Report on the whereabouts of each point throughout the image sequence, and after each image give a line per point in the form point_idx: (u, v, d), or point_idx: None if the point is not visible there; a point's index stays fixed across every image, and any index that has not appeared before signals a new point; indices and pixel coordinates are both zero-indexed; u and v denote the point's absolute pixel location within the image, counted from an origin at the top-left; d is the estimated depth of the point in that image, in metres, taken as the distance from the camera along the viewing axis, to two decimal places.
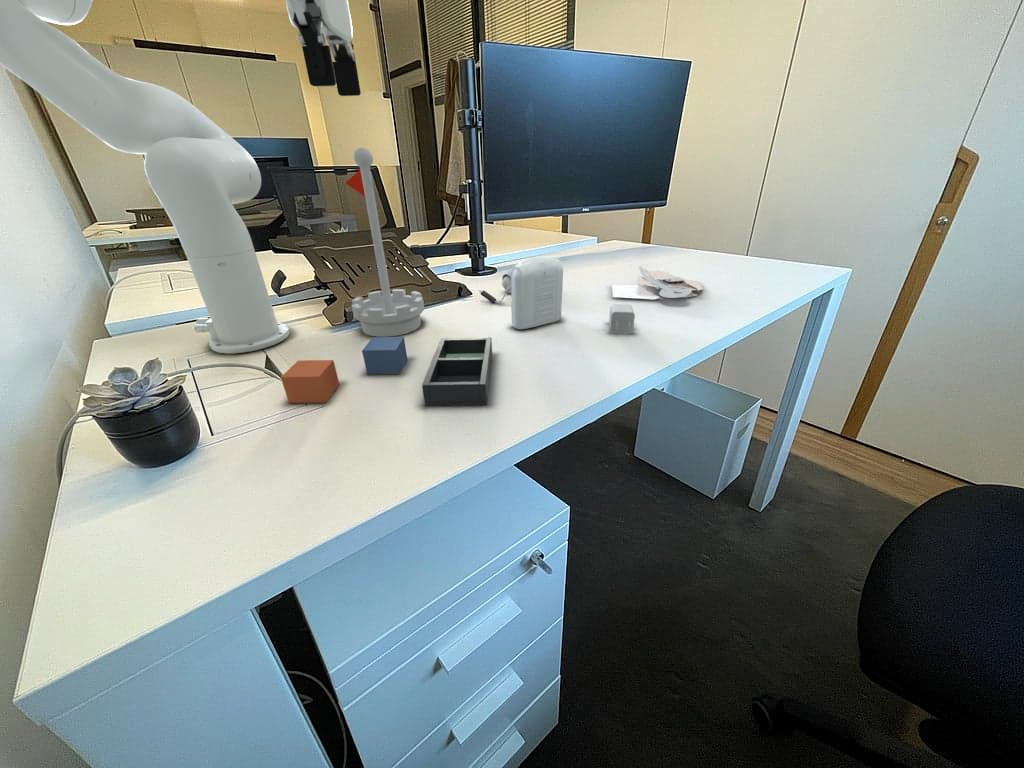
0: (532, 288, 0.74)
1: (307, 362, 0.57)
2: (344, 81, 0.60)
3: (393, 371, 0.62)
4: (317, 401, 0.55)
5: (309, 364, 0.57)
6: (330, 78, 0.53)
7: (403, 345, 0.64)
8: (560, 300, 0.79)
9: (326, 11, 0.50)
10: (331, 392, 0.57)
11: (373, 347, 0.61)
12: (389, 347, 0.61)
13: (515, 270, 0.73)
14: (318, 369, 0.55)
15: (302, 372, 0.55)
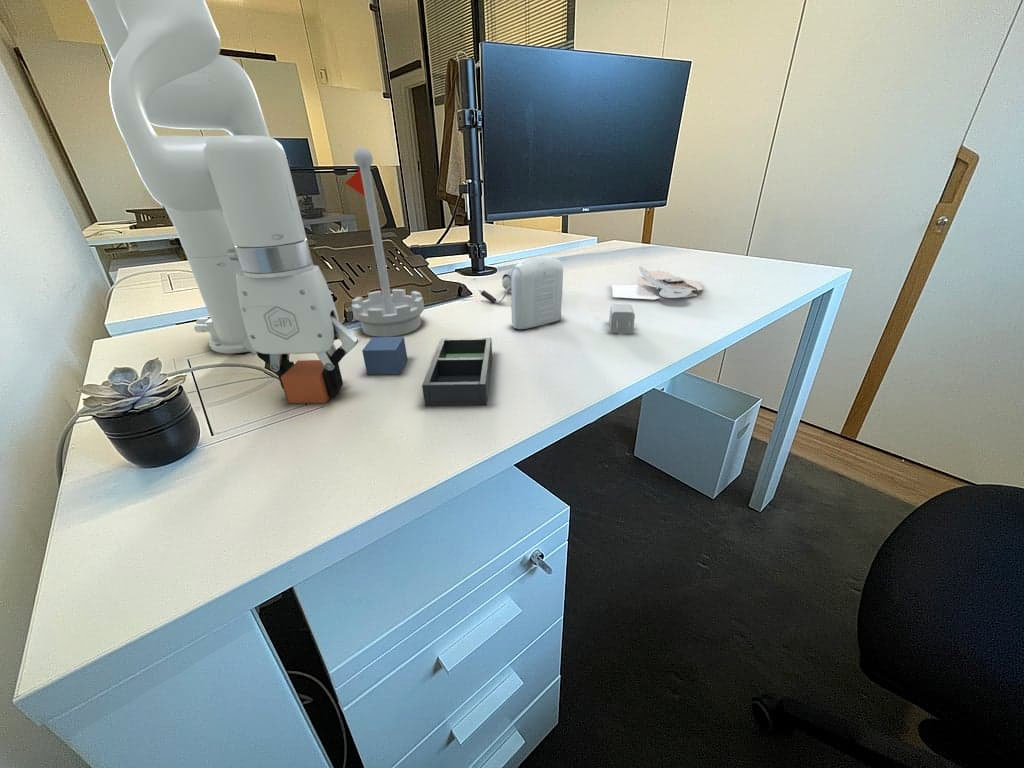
0: (532, 288, 0.74)
1: (307, 362, 0.57)
2: None
3: (393, 371, 0.62)
4: (317, 401, 0.55)
5: (309, 364, 0.57)
6: None
7: (403, 345, 0.64)
8: (560, 300, 0.79)
9: None
10: None
11: (373, 347, 0.61)
12: (389, 347, 0.61)
13: (515, 270, 0.73)
14: (318, 369, 0.55)
15: (302, 372, 0.55)
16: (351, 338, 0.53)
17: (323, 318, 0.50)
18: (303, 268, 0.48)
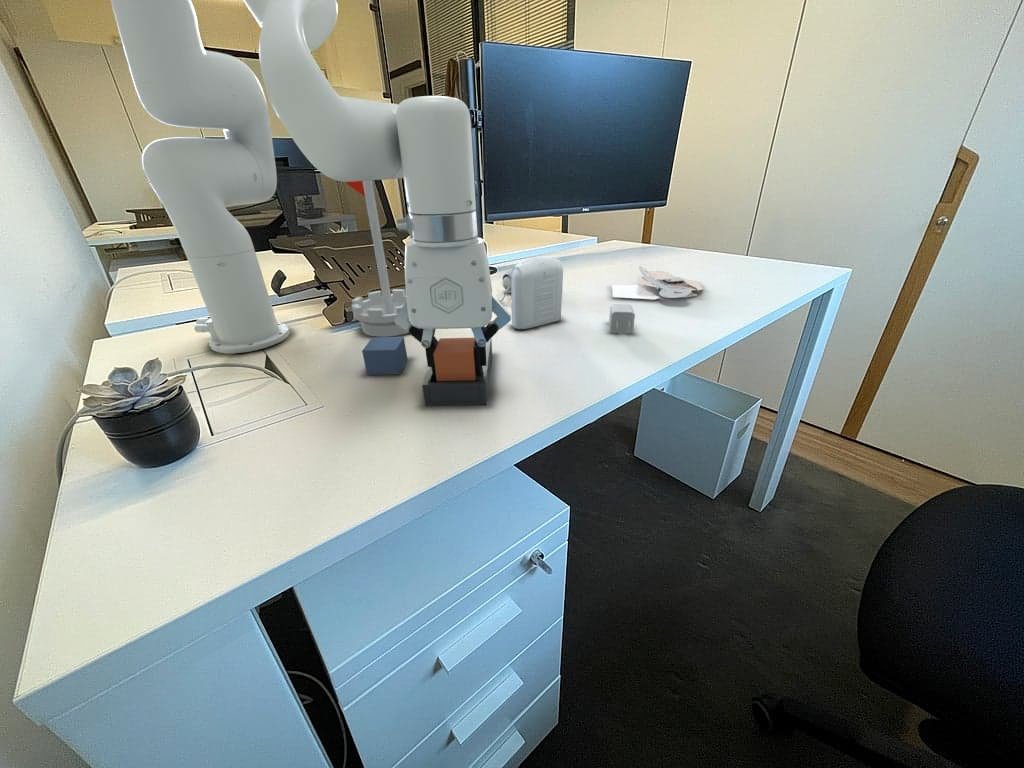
0: (532, 288, 0.74)
1: (451, 340, 0.56)
2: None
3: (393, 371, 0.62)
4: (466, 379, 0.54)
5: (455, 341, 0.55)
6: None
7: (403, 345, 0.64)
8: (560, 300, 0.79)
9: None
10: None
11: (373, 347, 0.61)
12: (389, 347, 0.61)
13: (515, 270, 0.73)
14: (467, 346, 0.54)
15: (452, 348, 0.53)
16: (507, 313, 0.52)
17: (488, 291, 0.49)
18: (474, 238, 0.47)
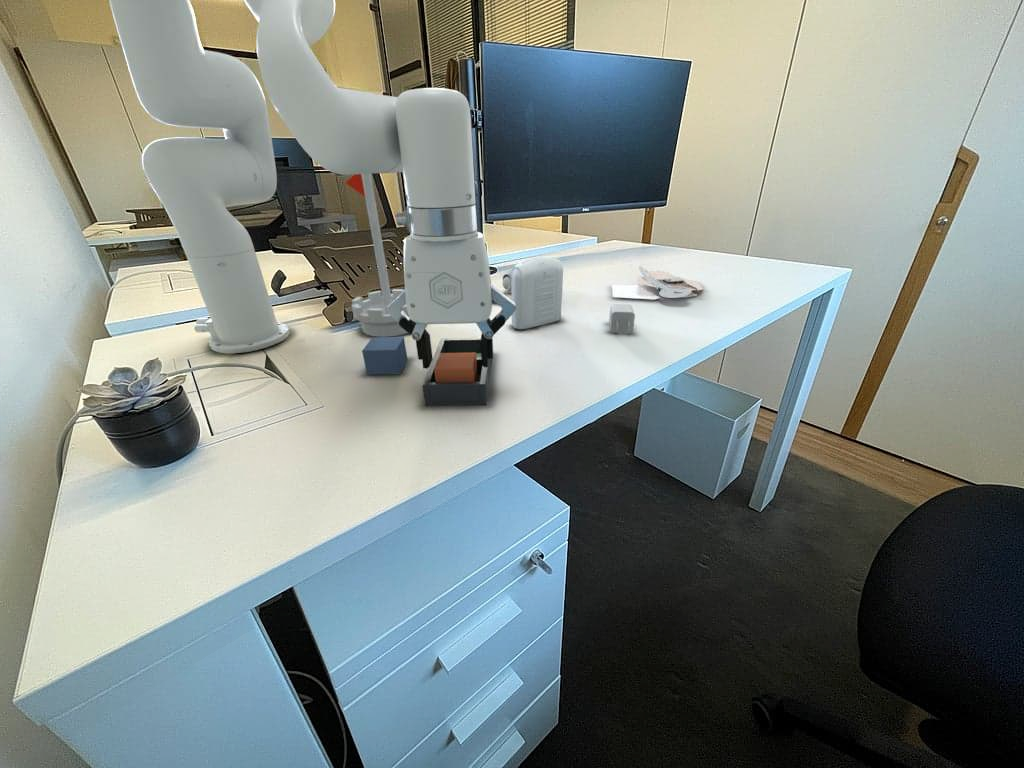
0: (532, 288, 0.74)
1: (451, 355, 0.57)
2: (429, 353, 0.55)
3: (393, 371, 0.62)
4: None
5: (455, 356, 0.56)
6: None
7: (403, 345, 0.64)
8: (560, 300, 0.79)
9: None
10: None
11: (373, 347, 0.61)
12: (389, 347, 0.61)
13: (515, 270, 0.73)
14: (467, 362, 0.55)
15: (453, 364, 0.54)
16: (511, 302, 0.51)
17: (488, 286, 0.48)
18: (474, 233, 0.46)
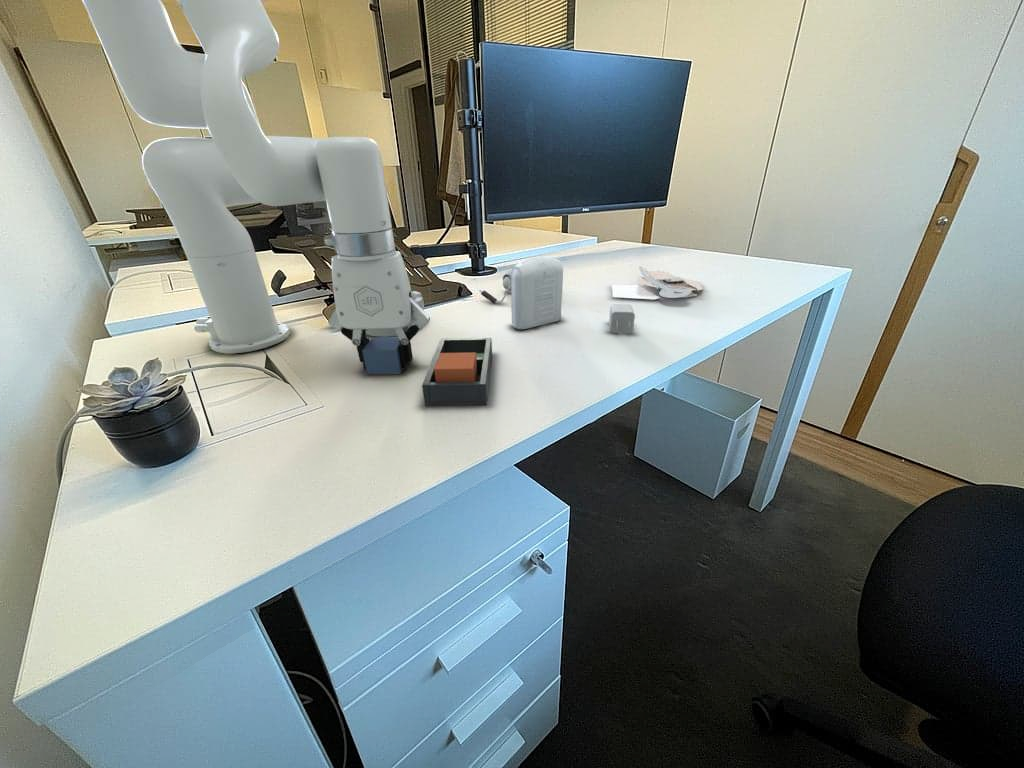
0: (532, 288, 0.74)
1: (451, 355, 0.57)
2: None
3: (393, 371, 0.62)
4: None
5: (455, 356, 0.56)
6: None
7: None
8: (560, 300, 0.79)
9: None
10: None
11: (373, 347, 0.61)
12: (389, 347, 0.61)
13: (515, 270, 0.73)
14: (467, 362, 0.55)
15: (453, 364, 0.54)
16: (425, 316, 0.60)
17: (405, 297, 0.57)
18: (390, 252, 0.55)
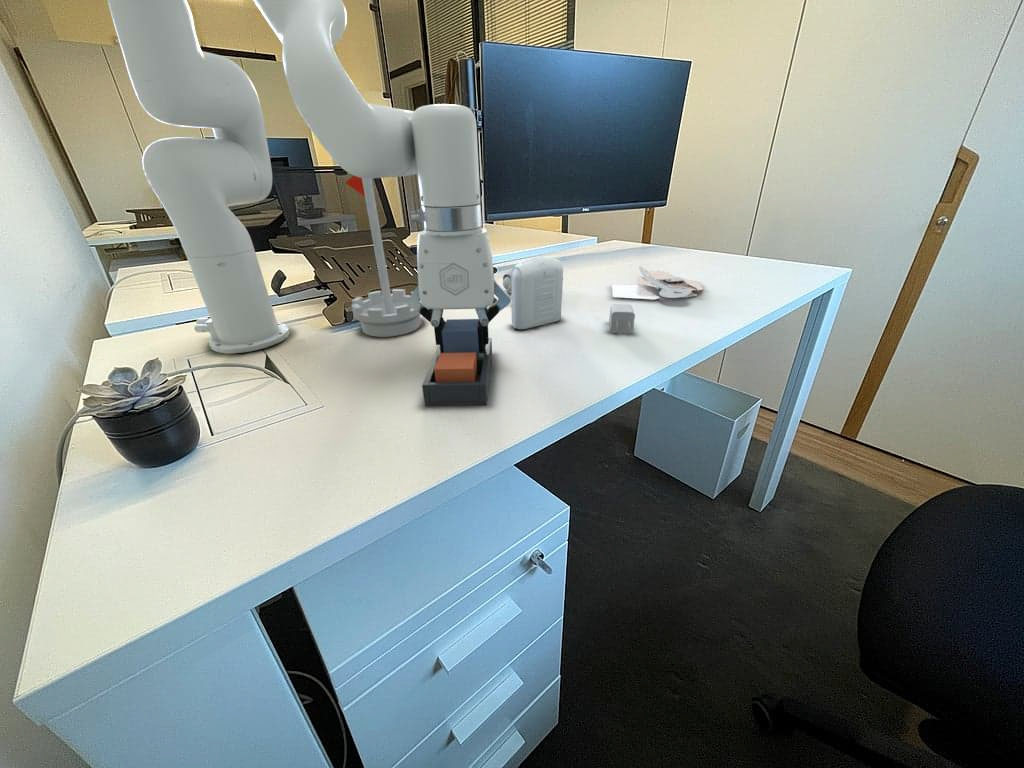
0: (532, 288, 0.74)
1: (451, 355, 0.57)
2: None
3: None
4: None
5: (455, 356, 0.56)
6: None
7: None
8: (560, 300, 0.79)
9: None
10: None
11: (452, 328, 0.59)
12: (468, 328, 0.59)
13: (515, 270, 0.73)
14: (467, 362, 0.55)
15: (453, 364, 0.54)
16: (507, 296, 0.58)
17: (491, 275, 0.55)
18: (479, 228, 0.53)
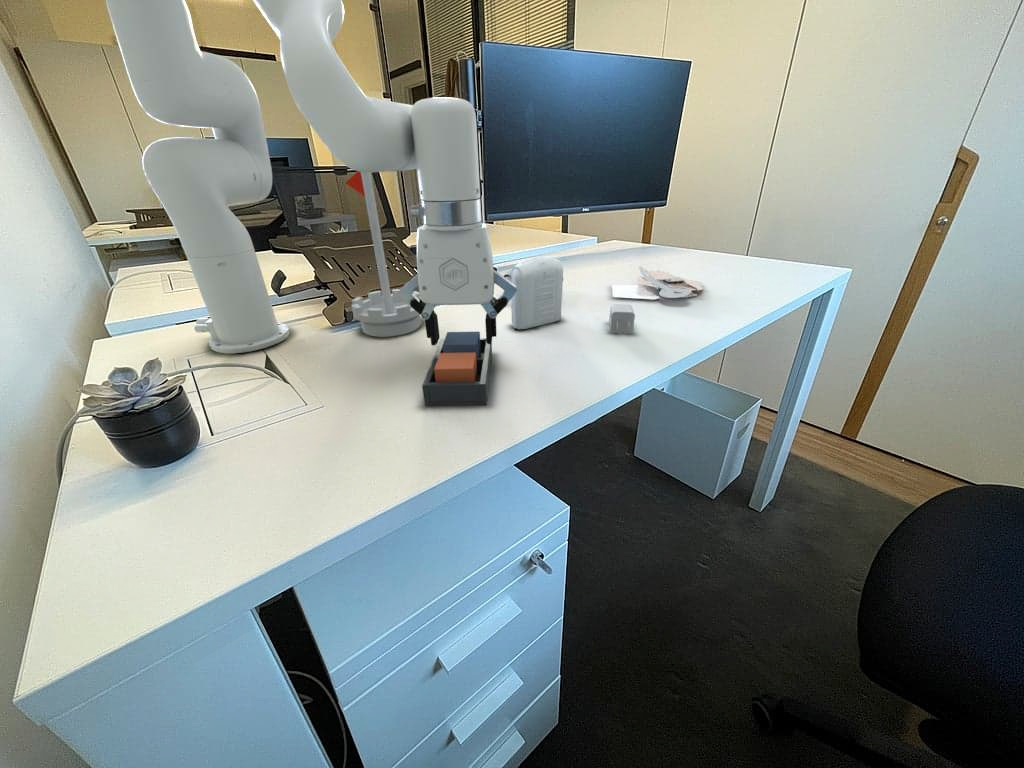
0: (532, 288, 0.74)
1: (451, 355, 0.57)
2: (436, 332, 0.61)
3: None
4: None
5: (455, 356, 0.56)
6: None
7: (479, 340, 0.64)
8: (560, 300, 0.79)
9: None
10: None
11: (452, 341, 0.60)
12: (469, 341, 0.60)
13: (515, 270, 0.73)
14: (467, 362, 0.55)
15: (453, 364, 0.54)
16: (512, 285, 0.57)
17: (491, 270, 0.55)
18: (478, 223, 0.53)
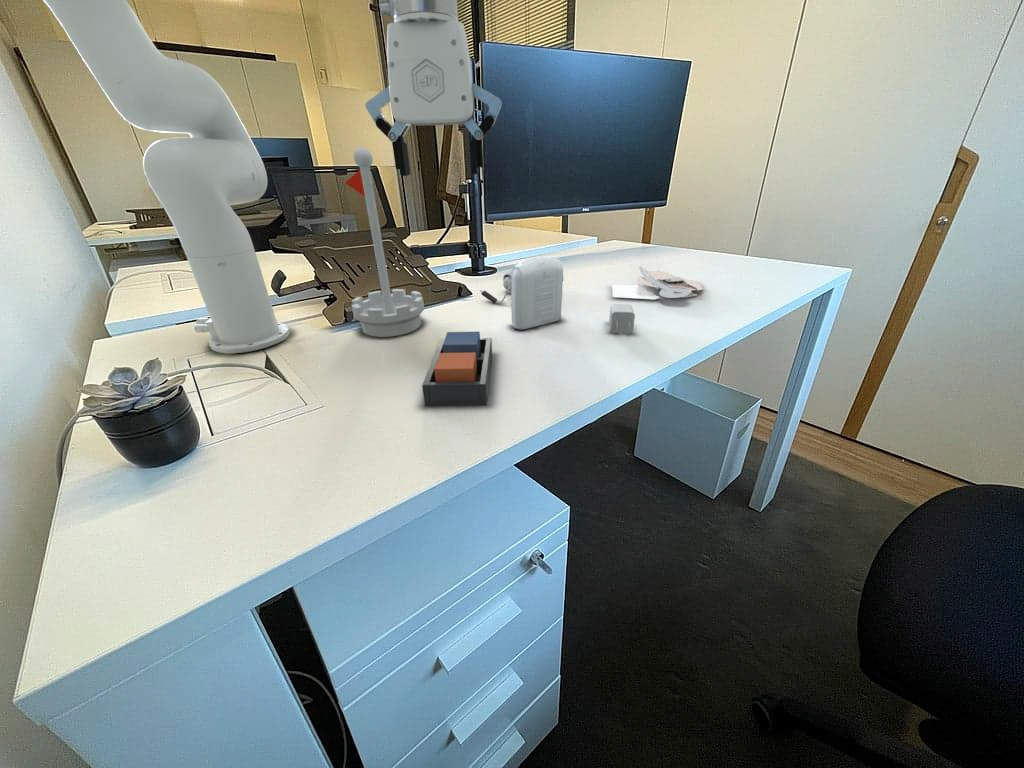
0: (532, 288, 0.74)
1: (451, 355, 0.57)
2: (406, 162, 0.56)
3: None
4: None
5: (455, 356, 0.56)
6: (478, 168, 0.58)
7: (479, 340, 0.64)
8: (560, 300, 0.79)
9: None
10: None
11: (452, 341, 0.60)
12: (469, 341, 0.60)
13: (515, 270, 0.73)
14: (467, 362, 0.55)
15: (453, 364, 0.54)
16: (495, 96, 0.52)
17: (469, 78, 0.50)
18: (454, 18, 0.48)
